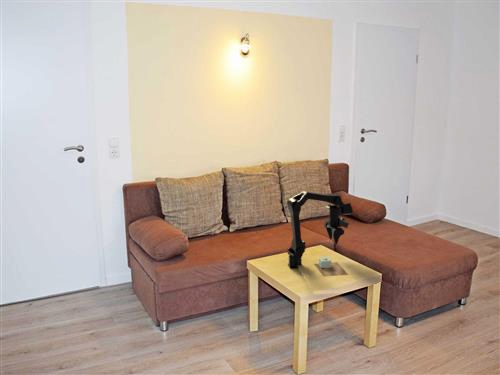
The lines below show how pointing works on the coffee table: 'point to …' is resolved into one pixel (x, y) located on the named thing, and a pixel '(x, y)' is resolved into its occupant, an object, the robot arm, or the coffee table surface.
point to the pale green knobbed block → (325, 262)
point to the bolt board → (332, 270)
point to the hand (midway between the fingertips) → (333, 241)
